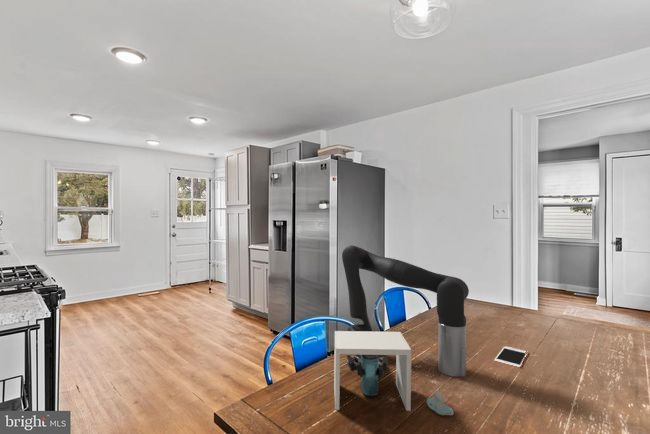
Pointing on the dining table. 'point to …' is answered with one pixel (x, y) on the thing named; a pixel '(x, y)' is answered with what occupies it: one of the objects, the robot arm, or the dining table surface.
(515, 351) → the cell phone
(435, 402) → the pacifier
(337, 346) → the low shelf
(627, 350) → the dining table surface
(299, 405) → the dining table surface
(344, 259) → the robot arm
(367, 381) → the teal bottle
